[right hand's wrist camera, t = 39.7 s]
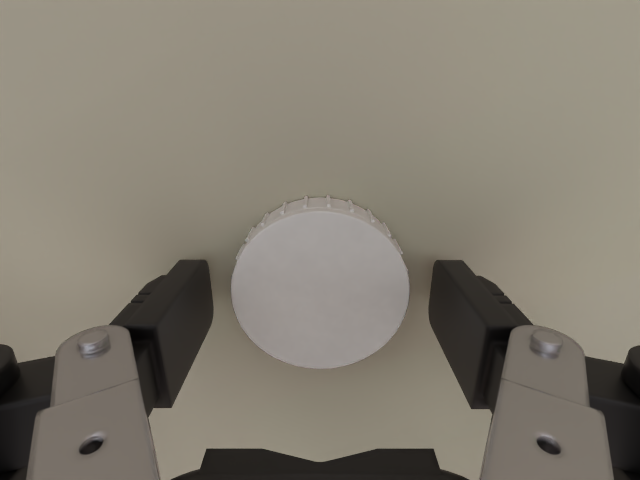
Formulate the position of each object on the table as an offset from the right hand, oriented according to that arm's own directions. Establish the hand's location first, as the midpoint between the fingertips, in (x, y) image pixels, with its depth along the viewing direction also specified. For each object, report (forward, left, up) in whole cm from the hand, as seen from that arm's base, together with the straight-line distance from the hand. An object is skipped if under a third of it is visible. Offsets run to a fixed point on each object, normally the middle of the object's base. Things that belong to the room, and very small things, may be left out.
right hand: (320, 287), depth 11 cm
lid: (0, 0, 0) cm, 0 cm away
